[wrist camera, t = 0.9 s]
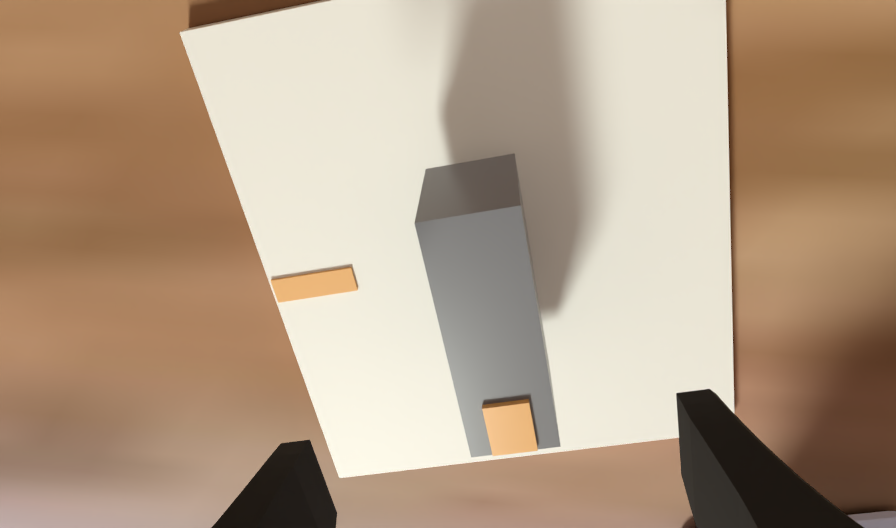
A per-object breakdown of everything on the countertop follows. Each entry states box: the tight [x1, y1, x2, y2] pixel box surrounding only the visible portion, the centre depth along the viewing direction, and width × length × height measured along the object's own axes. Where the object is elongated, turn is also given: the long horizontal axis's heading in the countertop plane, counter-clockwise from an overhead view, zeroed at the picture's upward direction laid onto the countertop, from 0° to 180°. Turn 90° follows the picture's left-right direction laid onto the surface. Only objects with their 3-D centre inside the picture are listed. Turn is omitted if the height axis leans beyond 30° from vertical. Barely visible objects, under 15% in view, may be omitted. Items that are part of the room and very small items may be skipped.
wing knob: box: [415, 153, 561, 457], centre depth 19 cm, size 7×2×5 cm, turn 11°
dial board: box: [180, 0, 734, 478], centre depth 22 cm, size 16×14×1 cm
